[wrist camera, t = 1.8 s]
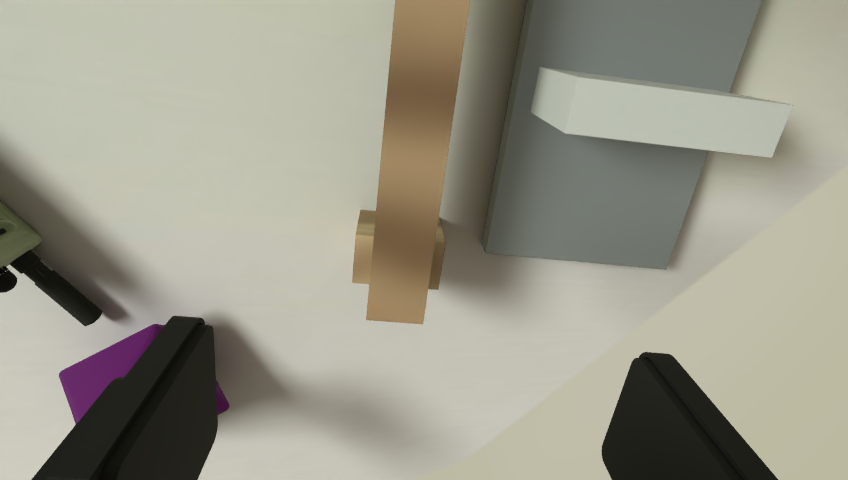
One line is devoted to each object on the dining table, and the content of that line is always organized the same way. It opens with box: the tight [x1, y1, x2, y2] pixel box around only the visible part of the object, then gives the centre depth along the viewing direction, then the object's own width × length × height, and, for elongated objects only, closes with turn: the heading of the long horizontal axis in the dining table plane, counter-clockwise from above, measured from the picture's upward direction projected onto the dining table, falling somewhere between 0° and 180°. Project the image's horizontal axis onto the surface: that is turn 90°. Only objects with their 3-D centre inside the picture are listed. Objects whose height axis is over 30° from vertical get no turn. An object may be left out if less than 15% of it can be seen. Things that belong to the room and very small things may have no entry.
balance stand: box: [482, 0, 793, 269], centre depth 25 cm, size 20×12×8 cm, turn 173°
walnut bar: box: [366, 0, 470, 324], centre depth 22 cm, size 24×3×3 cm, turn 173°
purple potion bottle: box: [59, 324, 229, 424], centre depth 26 cm, size 8×8×18 cm
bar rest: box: [352, 210, 445, 290], centre depth 26 cm, size 23×5×4 cm, turn 173°
